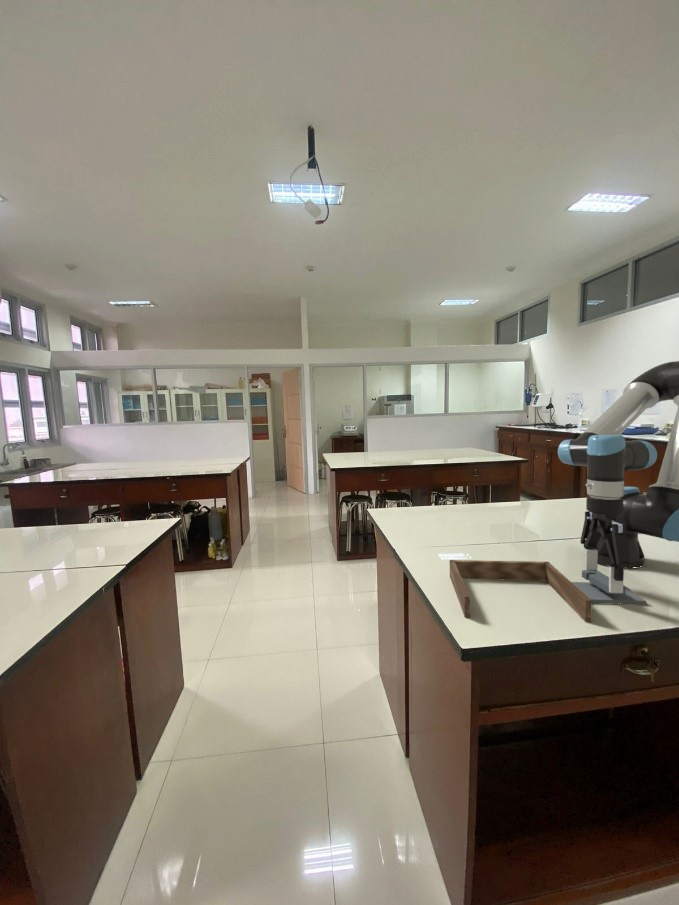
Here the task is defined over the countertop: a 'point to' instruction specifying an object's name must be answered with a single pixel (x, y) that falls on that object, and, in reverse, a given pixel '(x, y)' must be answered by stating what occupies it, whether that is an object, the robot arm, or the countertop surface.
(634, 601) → the slate mat
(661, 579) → the countertop surface
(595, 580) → the bracket
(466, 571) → the u-shaped wooden frame
